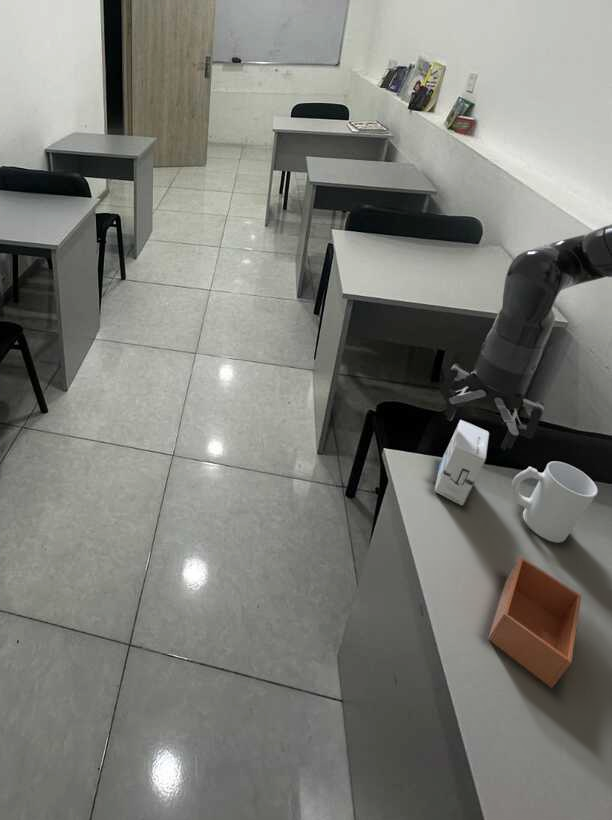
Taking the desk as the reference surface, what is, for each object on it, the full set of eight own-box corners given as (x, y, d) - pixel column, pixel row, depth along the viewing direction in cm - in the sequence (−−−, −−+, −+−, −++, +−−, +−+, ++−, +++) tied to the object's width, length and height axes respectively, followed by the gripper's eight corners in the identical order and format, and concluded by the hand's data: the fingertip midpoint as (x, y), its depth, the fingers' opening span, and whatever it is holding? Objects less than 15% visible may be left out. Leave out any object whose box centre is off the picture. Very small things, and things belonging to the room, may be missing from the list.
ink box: (439, 461, 95) (459, 416, 90) (468, 475, 92) (489, 430, 88) (433, 492, 88) (454, 445, 84) (463, 507, 86) (486, 460, 81)
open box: (562, 622, 70) (581, 595, 68) (550, 689, 63) (571, 662, 60) (504, 582, 75) (520, 556, 72) (486, 640, 67) (503, 613, 65)
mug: (563, 521, 86) (592, 473, 81) (570, 553, 80) (602, 504, 75) (497, 493, 90) (522, 446, 85) (500, 521, 85) (526, 473, 80)
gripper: (564, 369, 77) (527, 444, 83) (466, 329, 86) (439, 399, 92) (557, 391, 72) (518, 468, 78) (454, 346, 81) (426, 419, 87)
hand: (475, 431), depth 85 cm, fingers open, 8 cm apart
